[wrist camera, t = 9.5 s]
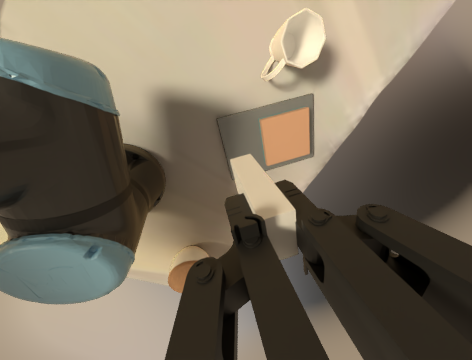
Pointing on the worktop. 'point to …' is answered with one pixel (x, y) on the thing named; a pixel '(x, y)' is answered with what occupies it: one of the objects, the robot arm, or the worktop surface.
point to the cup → (296, 42)
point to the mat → (258, 131)
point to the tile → (285, 135)
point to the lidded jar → (184, 266)
